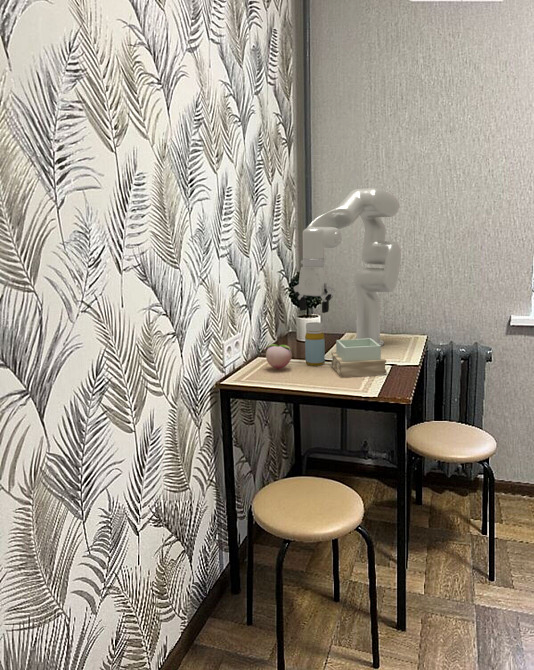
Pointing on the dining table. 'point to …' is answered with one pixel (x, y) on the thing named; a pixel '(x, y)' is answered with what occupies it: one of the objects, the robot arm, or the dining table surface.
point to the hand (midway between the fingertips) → (314, 311)
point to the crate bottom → (358, 367)
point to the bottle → (314, 344)
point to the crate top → (358, 350)
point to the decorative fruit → (278, 355)
